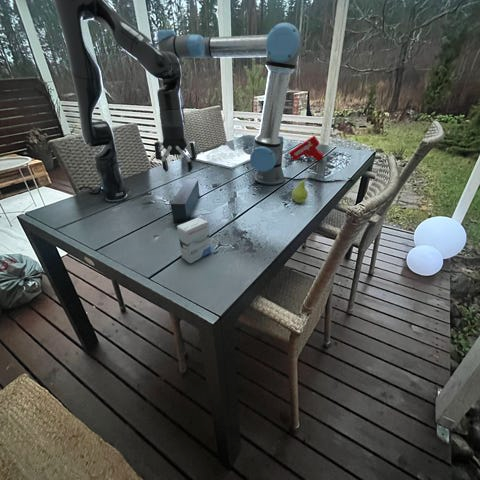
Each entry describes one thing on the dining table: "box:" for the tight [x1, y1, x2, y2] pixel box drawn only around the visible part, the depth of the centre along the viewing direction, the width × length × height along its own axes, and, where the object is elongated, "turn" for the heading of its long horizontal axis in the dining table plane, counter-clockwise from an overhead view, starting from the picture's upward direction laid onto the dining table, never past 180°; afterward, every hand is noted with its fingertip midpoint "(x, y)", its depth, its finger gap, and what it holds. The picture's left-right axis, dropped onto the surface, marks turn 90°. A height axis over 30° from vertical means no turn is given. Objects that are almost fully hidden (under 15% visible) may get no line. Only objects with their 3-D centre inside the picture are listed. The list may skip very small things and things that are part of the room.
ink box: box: [176, 216, 212, 264], centre depth 84 cm, size 8×5×12 cm, turn 135°
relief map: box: [195, 144, 251, 170], centre depth 177 cm, size 27×35×5 cm
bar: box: [170, 178, 201, 225], centre depth 114 cm, size 26×5×8 cm, turn 177°
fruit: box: [291, 174, 311, 204], centre depth 118 cm, size 7×8×12 cm
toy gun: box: [288, 135, 324, 163], centre depth 172 cm, size 18×4×15 cm
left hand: (178, 171), depth 99 cm, fingers open, 8 cm apart
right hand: (178, 126), depth 130 cm, fingers open, 13 cm apart
